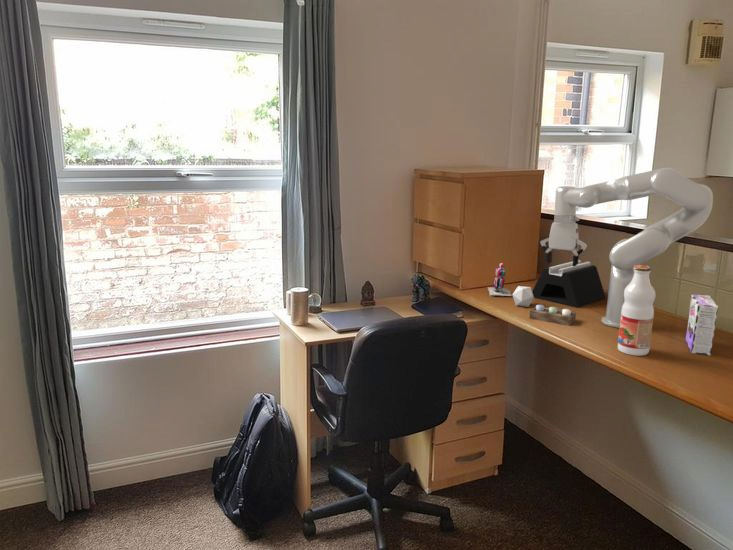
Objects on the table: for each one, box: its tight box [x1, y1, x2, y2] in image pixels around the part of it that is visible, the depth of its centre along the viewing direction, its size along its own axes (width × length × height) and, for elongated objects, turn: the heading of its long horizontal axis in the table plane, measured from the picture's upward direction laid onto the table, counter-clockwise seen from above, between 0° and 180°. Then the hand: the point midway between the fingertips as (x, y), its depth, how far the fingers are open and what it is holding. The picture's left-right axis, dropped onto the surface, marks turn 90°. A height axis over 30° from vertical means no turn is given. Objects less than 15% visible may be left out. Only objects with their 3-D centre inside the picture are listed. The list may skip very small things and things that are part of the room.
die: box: [511, 285, 535, 308], centre depth 237 cm, size 8×9×10 cm
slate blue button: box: [535, 304, 545, 311], centre depth 222 cm, size 3×3×4 cm
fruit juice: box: [617, 264, 656, 357], centre depth 183 cm, size 9×9×28 cm
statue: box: [487, 262, 513, 298], centre depth 254 cm, size 11×9×15 cm
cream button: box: [561, 308, 572, 316], centre depth 216 cm, size 3×3×4 cm
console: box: [529, 306, 577, 326], centre depth 219 cm, size 15×8×3 cm, turn 55°
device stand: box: [532, 259, 606, 309], centre depth 248 cm, size 22×22×15 cm
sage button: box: [548, 306, 558, 314], centre depth 219 cm, size 3×3×4 cm
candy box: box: [685, 293, 719, 356], centre depth 188 cm, size 14×6×16 cm, turn 159°
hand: (561, 264), depth 221 cm, fingers open, 9 cm apart
